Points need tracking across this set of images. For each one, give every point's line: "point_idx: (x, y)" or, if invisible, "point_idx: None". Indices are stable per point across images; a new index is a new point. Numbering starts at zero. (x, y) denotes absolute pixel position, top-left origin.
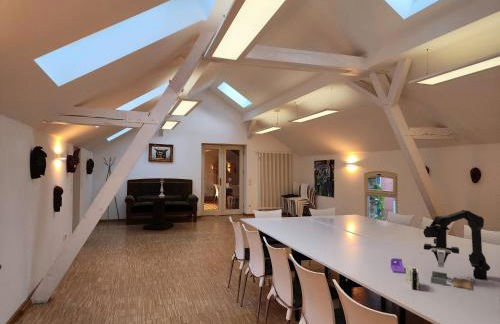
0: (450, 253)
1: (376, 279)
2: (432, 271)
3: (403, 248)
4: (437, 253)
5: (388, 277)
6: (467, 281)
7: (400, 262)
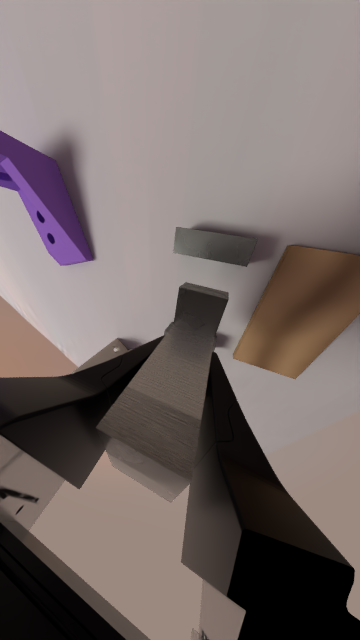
0: (269, 614)
1: (70, 338)
2: (175, 240)
3: None
4: (110, 399)
5: (79, 318)
6: (349, 296)
7: (17, 181)
